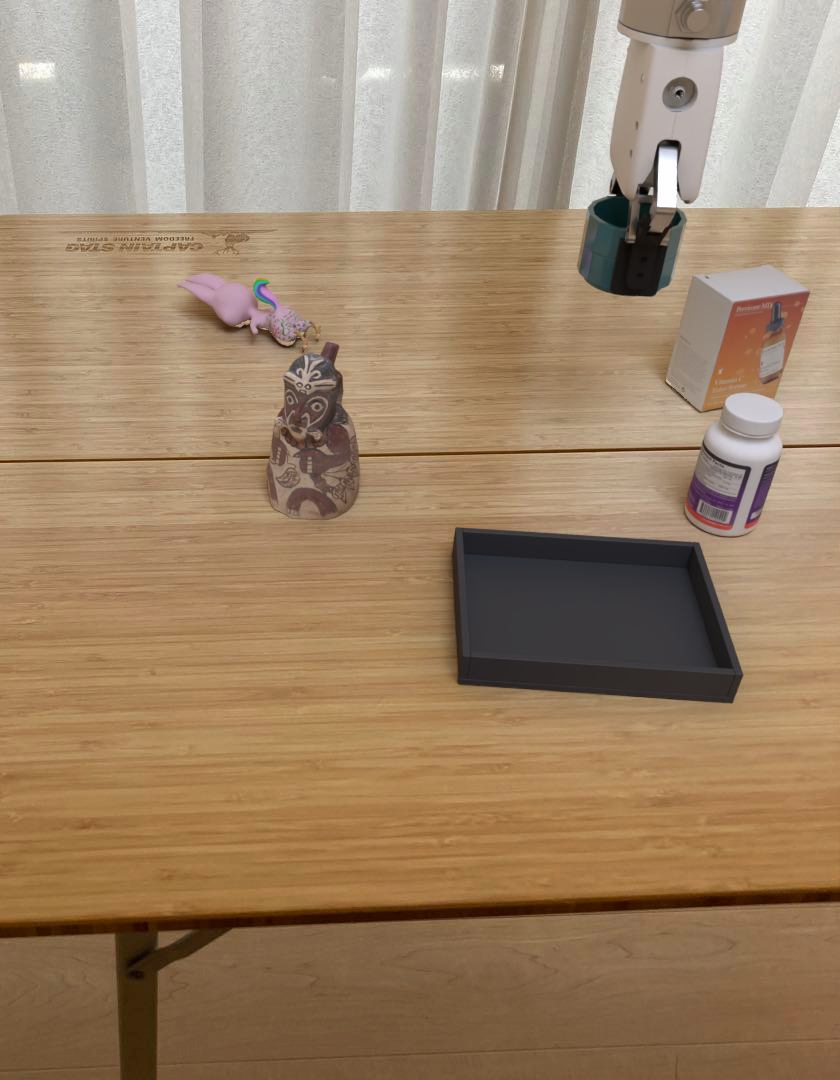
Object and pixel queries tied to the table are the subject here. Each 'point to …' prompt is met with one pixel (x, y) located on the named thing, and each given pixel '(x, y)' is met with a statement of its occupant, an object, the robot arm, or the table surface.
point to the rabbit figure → (248, 306)
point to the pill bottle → (736, 466)
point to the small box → (735, 334)
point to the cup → (603, 240)
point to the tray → (590, 616)
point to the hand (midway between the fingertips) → (625, 269)
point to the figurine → (313, 442)
